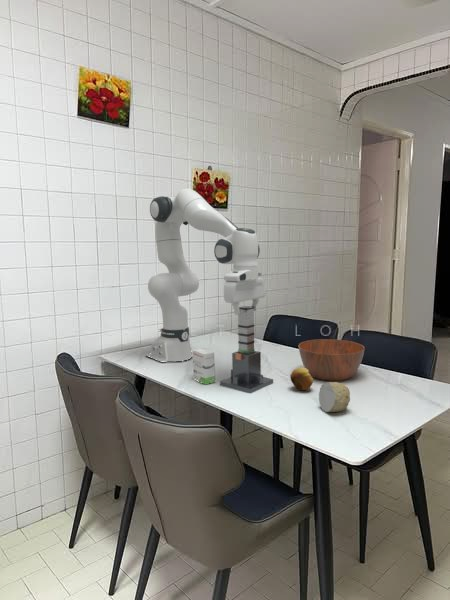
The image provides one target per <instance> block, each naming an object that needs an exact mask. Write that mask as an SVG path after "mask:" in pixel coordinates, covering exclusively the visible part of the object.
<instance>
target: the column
mask: <svg viewBox="0 0 450 600" xmlns="http://www.w3.org/2000/svg"><path fill="white" fill-rule="evenodd" d="M239 309H241V314H239V315H237V317H238V318H237V319H238V322H237V327H238V333H237V336H238V349H237V351H238V352H239V353H240V354H244V355H250V354H253V353H254V351H255V311H254V307H251V306H246V305H243V306H239Z"/></svg>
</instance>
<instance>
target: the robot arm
mask: <svg viewBox="0 0 450 600" xmlns="http://www.w3.org/2000/svg"><path fill="white" fill-rule="evenodd" d="M149 213H150V216H151V218H152V219H153V221H155V242H156V253H157V258H158V261H159V262H160V263H161V264H163V265H164V266H165V267H166V268H167V270H168V272H164V273H158V274H156V275H153V276H151V277H150V278H149V279H148V283H147V290H148V292H149V294H150V295H151V297H153V298H154V299H155V300H156V301H157V303H158V305H159V307H160V309H161V314H162V315H161V316H162V328H159V331H158V332H161V333H160V335H159V337H158V338H156V339H155V340H154V341H153V342H152V343H151V345H150V352H147V353H146V354H145V356H146V355H147V356H150V357H152V358H154V359H157V360H159V361H182V360H187V359H190V358H191V357H192V358H193V351H192V349H191V343H190V338H189V336H190V327H189V321H188V320H189V319H188V310H187V308H186V307H185V306H183V305H181V303H180V300H179V297H183V296H189V295H192V294H194V293H195V292H197V291H198V289H199V285H200V281H199V277H198V275H196V274H195V273H194V271H192V270H191V269H190V267H189V266H188V264H187V262H186V259H185V256H184V251H183V244H182V237H181V236H182V235H181V230H180V229H181V227H182V225H185V226H188V225H189V226H191V227H193V228H194V229H195V230H198V231H203V232H210V233H213V234H214V233H215V234H218V235H221V236H223V237H222V238H220V239H218V240H217V241H216V243H215V245H214V252H213V253H214V257H215V259H216V260H217V262H218V263H220V264H223V265H233V269H231V270H230V271H228V272H227V273H225V274H223V275H224V276H223V280H224V281H225V282H224V284H223V285H224V287H223V299H224V301H225V303H229V304H231V306H232V307H233V310H234V315H235V316H236V315H237V316H238V315H239V314H241V309H239V307H240V302H246V301H252V303H251V305H250V307H254V312H257V310H258V308H257V307H258V306H259V305H258V304H259V302H260V299H263V298H265V296H266V292H267V291H266V281H265V279H264V275H263V274H262V272H259V264H258V258H259V256H260V253H261V252H260V251H261V250H260V248H261V247H260V244H259V242H258V235H257V232H256V230H254V229H252V228H245V227H238V226H237V225H236V224H234V223H233V222H232V220H230V219H229V218H227V217H226V216H224V215H223V214H221V212H219V211H217V210H216V209H215V208H214V207H213V206H211V205H210V204H209V202H207V200H206V199H205V198H204V197H203V196H202V195H201V194H199V193H198V192H197V191H195V190H194V189H192V188H189V187H188V188H187V187H186V188H183V189H181V190H180V191H178V192H177V193H176V195H173V196H162V195H161V196H157V197H154V198H153V199H152V200H151V203H150V205H149ZM149 353H151V354H149ZM190 360H191V359H190ZM187 361H188V360H187ZM182 362H183V361H182Z"/></svg>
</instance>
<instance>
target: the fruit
mask: <svg viewBox="0 0 450 600" xmlns="http://www.w3.org/2000/svg"><path fill="white" fill-rule="evenodd" d="M289 378H290V381H291V383H292V385H293V386H294V387H295V388H296V389H298V390H299V391H300V392H301V391H302V392H304V391H307V390H309V389H310V388H311V387H312V385H313V382H314V377H313V376H311V375H310V374H309V371H308V369H306V368H305V367H303V366H301V367H297V368H295V369H294V370H293V371H292V372H291V374H290V377H289Z"/></svg>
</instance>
